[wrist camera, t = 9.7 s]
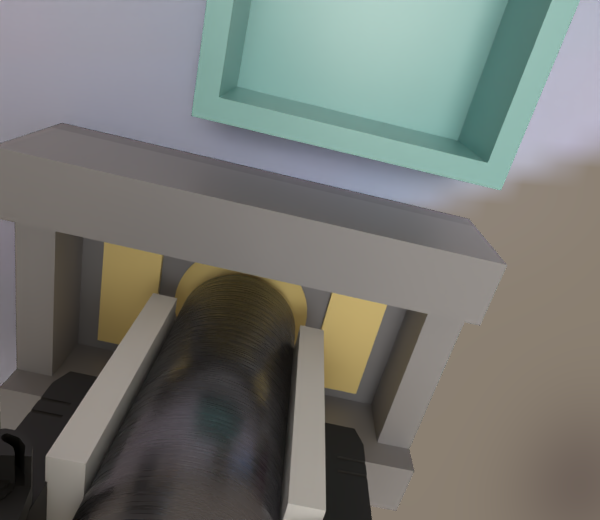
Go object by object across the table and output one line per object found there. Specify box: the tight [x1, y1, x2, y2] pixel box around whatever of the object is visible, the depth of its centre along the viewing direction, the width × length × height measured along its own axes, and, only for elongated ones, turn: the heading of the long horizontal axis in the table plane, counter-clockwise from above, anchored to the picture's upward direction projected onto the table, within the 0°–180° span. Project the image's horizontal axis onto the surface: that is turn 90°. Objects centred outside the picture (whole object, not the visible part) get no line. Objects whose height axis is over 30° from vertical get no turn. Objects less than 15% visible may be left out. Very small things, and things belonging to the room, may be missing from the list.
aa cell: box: [72, 275, 295, 520], centre depth 11 cm, size 4×4×13 cm
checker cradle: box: [0, 123, 507, 511], centre depth 17 cm, size 10×14×4 cm
